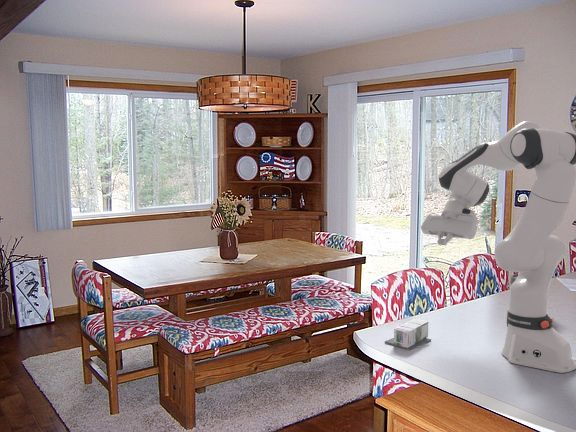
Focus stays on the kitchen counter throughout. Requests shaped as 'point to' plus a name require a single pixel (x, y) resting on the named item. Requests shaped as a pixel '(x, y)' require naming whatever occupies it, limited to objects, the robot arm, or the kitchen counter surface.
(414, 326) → the syrup box
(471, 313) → the kitchen counter surface
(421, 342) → the mat
